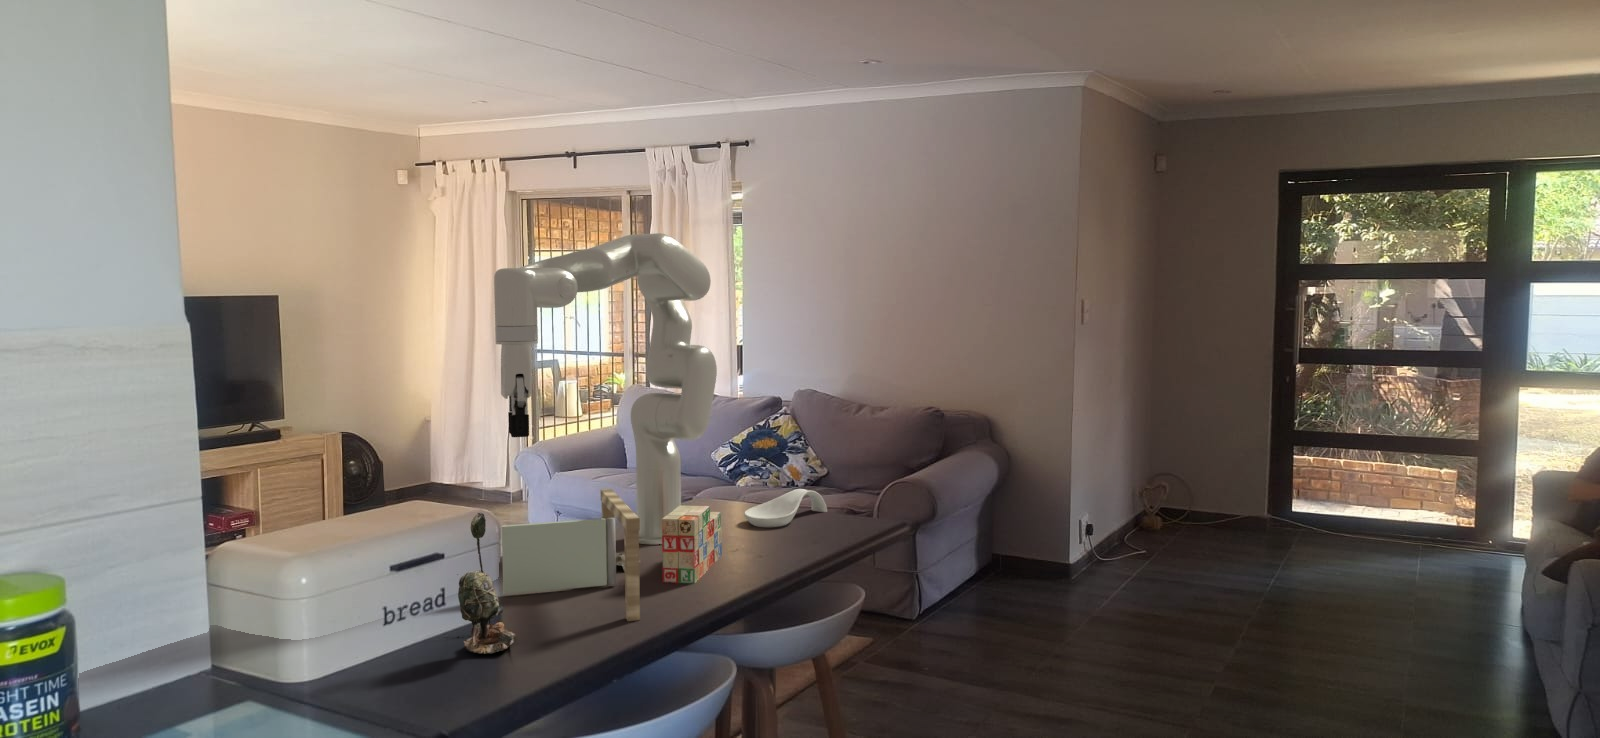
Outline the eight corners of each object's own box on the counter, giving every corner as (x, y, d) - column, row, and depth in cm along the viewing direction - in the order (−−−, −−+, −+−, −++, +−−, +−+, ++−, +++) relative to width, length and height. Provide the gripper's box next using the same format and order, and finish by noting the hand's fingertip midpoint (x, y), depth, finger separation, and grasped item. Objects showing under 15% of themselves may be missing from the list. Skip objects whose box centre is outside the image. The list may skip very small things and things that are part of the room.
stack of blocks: (692, 556, 221) (691, 496, 220) (722, 557, 220) (721, 496, 219) (662, 583, 200) (661, 517, 199) (695, 585, 199) (694, 518, 198)
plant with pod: (440, 656, 160) (436, 521, 158) (484, 633, 170) (481, 507, 169) (489, 661, 157) (485, 525, 156) (530, 637, 168) (527, 510, 167)
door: (615, 582, 198) (614, 517, 197) (616, 584, 197) (615, 519, 196) (503, 592, 192) (501, 525, 191) (503, 594, 190) (502, 527, 190)
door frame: (602, 580, 202) (600, 489, 201) (612, 579, 202) (611, 488, 201) (628, 623, 175) (627, 518, 174) (641, 621, 176) (639, 518, 175)
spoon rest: (772, 535, 240) (771, 503, 239) (733, 528, 247) (733, 497, 247) (838, 518, 258) (838, 488, 257) (800, 512, 265) (800, 483, 265)
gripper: (492, 334, 206) (494, 430, 207) (498, 338, 190) (500, 441, 191) (533, 334, 208) (535, 428, 209) (542, 337, 192) (544, 439, 193)
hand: (518, 434), depth 200 cm, fingers open, 4 cm apart
